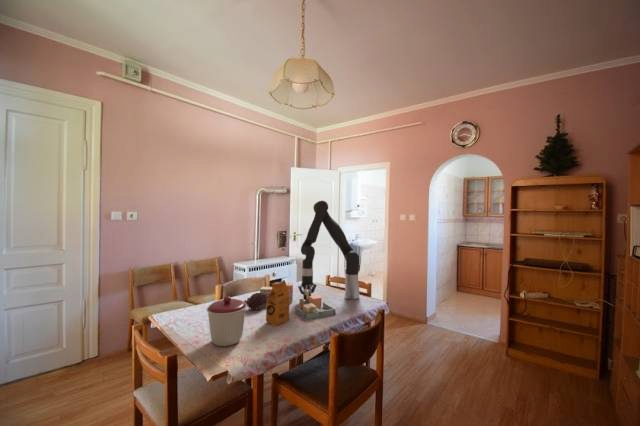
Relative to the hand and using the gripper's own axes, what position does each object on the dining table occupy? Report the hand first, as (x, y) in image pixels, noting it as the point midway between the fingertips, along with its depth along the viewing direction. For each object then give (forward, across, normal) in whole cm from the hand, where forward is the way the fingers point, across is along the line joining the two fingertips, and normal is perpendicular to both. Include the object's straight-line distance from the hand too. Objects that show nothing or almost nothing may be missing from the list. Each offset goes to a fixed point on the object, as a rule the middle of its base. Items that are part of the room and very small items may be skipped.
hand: (307, 299), depth 189 cm
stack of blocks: (+1, +19, -8) cm, 21 cm away
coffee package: (+1, +30, +24) cm, 38 cm away
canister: (+1, +59, +36) cm, 69 cm away
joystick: (+1, 0, +7) cm, 7 cm away
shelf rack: (+1, +5, +22) cm, 23 cm away
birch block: (+1, +10, +20) cm, 22 cm away
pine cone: (+1, +34, 0) cm, 34 cm away
